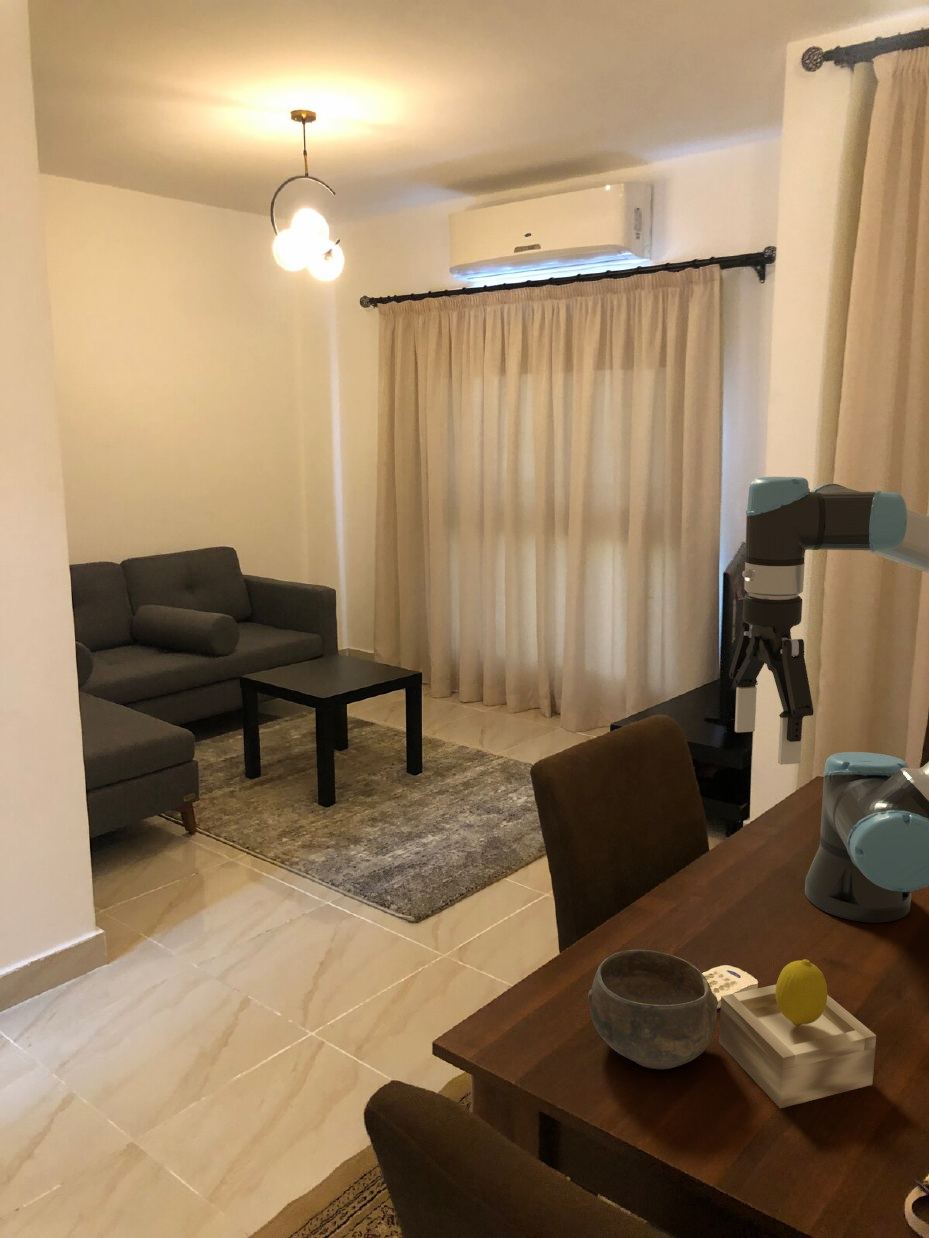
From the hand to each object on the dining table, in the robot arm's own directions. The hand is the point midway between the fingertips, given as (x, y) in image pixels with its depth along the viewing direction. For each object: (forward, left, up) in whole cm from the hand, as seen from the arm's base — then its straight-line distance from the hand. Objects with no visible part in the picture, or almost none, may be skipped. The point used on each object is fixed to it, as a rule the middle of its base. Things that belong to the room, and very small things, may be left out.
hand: (765, 746), depth 134 cm
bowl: (+23, +23, -29) cm, 43 cm away
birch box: (+7, +27, -29) cm, 40 cm away
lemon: (+7, +27, -24) cm, 37 cm away
